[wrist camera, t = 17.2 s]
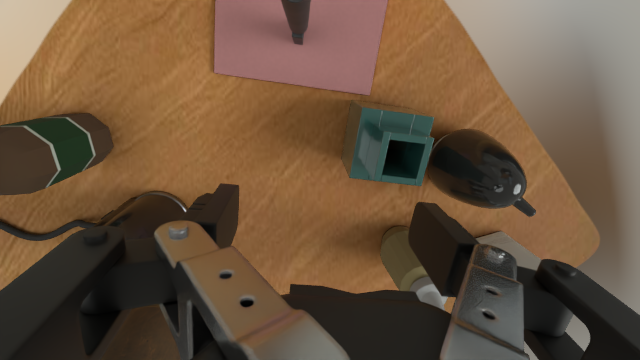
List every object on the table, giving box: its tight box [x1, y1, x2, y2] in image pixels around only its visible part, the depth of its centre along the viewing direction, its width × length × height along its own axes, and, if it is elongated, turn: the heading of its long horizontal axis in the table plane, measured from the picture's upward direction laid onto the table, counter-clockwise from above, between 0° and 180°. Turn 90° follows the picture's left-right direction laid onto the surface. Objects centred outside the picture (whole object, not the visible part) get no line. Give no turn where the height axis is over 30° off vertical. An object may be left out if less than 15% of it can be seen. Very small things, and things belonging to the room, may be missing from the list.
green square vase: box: [341, 100, 434, 186], centre depth 39 cm, size 9×9×14 cm
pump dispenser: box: [428, 129, 536, 217], centre depth 40 cm, size 10×10×15 cm
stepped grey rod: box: [281, 0, 311, 45], centre depth 28 cm, size 2×3×25 cm
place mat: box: [214, 0, 388, 95], centre depth 40 cm, size 22×13×1 cm, turn 82°
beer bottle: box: [0, 114, 113, 195], centre depth 32 cm, size 8×8×24 cm
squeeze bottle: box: [380, 226, 447, 311], centre depth 44 cm, size 8×8×18 cm
